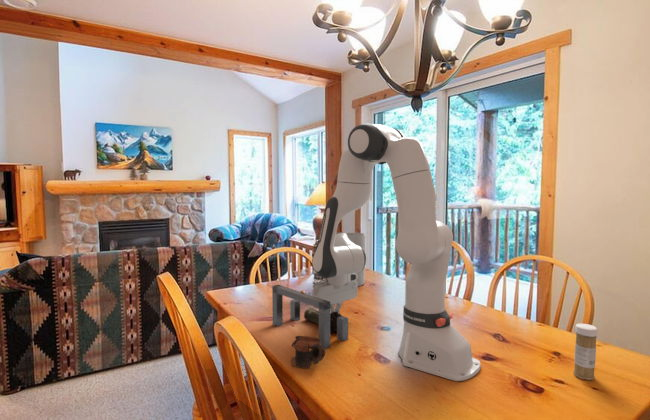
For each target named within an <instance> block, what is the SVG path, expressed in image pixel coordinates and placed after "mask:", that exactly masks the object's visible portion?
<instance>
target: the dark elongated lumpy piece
mask: <svg viewBox="0 0 650 420" xmlns="http://www.w3.org/2000/svg"><path fill="white" fill-rule="evenodd" d="M341 316H343V315H342V314H341V313H340V314H338V312H333V313H331V312H330V333H335V332H337V318H338V317H341ZM303 318H304V320H305V321H309V322H312V323H315V324H318V325H319V309H316V308H314V307H308V308H307V309H306V310H305V311H304V313H303Z"/></svg>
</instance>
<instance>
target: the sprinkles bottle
mask: <svg viewBox="0 0 650 420" xmlns="http://www.w3.org/2000/svg"><path fill="white" fill-rule="evenodd" d="M597 337H598V328H597V326H594V325H592V324H588V323H576V324H575V345H574V359H573V360H574V369H573V370H574V371H573V375H574V376H575V377H577V378H578V379H581V380H584V379H586V380H585V381H593V380H595V370H596V369H595V368H596V356H597V353H596V352H597Z"/></svg>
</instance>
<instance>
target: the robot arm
mask: <svg viewBox="0 0 650 420" xmlns="http://www.w3.org/2000/svg"><path fill="white" fill-rule="evenodd" d="M347 138H348V139H347V147H348V148H347V149H345V150H344V151H343V152H342V154H341V156H340V160H339V164H338V172H337V180H336V181H337V182H336V188H335V190H334V193H333V194H332V197H330V198H329V199H328V200H327V202H326V204H325V208H324V211H323V214H322V221H321V223H320V224H321V225H320V230H319V234H318V238H317V239H318V240H317V241H318V243H317V247H316V250H315V252H314V251H313V254H314V255H313V256H312V259H311V262H312V263H311V265H312V270H313V269H314V271H315V272H316V273H317V274H318V275H319V276H321V277H322V278H323V280H322V281H318V282H316V284H317V285H316V284H315V285H314V287H313V286H312V288H313V289H312V294H311V296H314V297H317V298H320V299H323V300H326V301H329V302H330V313H333V312H338V314H341V313H340V311H341V308H342V307H343V302H346V301H349V300H353V299H356V298H357V296H358V290H359V289H358V288H359V286H358V284H357V281H356V280H357V278H358V275H357V274H355V273H357V272H360V271H362V270H363V269H364V267H365V268H366V263H367V255H366V254H367V253H366V251H365V252H364V250H363V249H362V248H361V247H360V246H359V245H356V244H354V243H353V242H351V241H350V240H349V239H348V237H347V234H345V233H346V232H338V228H339V223H341V221H342V220H343V218H344V217H346V216H348V215H349V214H351V213H353V212H355V211H358V210H360V209H361V208H363V207H364V206H365V205H366V204H367V203H368V201H369V199H370V197H371V191H372V174H373V169H374V168H375V166H376V165H377V164H378V165H385V164H387V166H388V167H389V172H390V177H391V180H392V185H393V191H394V196H395V199H396V205H397V218H398V220H397V224H398V225H397V227H398V228H397V229H398V230H397V231H398V232H397V233H398V234H397V237H396V240H395V249H396V252H397V254H398V256H399V257H400V258H401V259H402V260H403V261H404V262H406V263H408V264H410V266H409V269H408V272H407V275H406V276H405V277H406V278H405V293H404V297H405V299H404V300H405V301H404V303H405V304H404V305H403V313H402V315H403V316H402V318H403V323H404V324H403V333H402V338H401V342H400V344H399V345H400V346H399V348H398V352H397V353H398V355H399V357H400V358H401V360H402V361H401V362H402V365H403V366H404V367H409V368H412V369H415V370H418V371H421V372H425V373H428V374H431V375H435V376H438V377H439V378H440V377H441V378H444V379H448V380H450V381H454V382H460V381H461V382H463V381H467V380H469V379H471V378H473V377H475V376H476V375H477V374H478V373H480V370H481V368H482V366H481V361H480V360H479V359H476V358H475V357H473V352H472V347H471V344H470V342H469V341H468V340H467V339H466V338H465V337H464V336H463V335H462V334H461V333H460V332H459V331H458V330H457V329H456V328H455V327H454V326H453V325H452V323H451V319H453V318H454V313H451V314H449V313H448V312H447V309H446V308H445V307H446V284H447V283H446V282H447V276H448V275H447V274H448V270H449V265H450V257H451V251H452V250H451V249H452V244H453V240H454V234H453V232H452V230H451V228H450V227H449V226H448V225H447V224H445V223H444V222H441V221H439V220H437V214H436V210H437V209H436V206H437V205H436V203H437V193H436V189H435V185H434V181H433V177H432V172H431V168H430V165H429V160H428V159H427V158H428V157H427V155H426V153H425V150H424V148H423V146H422V143H421V142H420V141H419V139H418V138H415V137H410V136H405V134H404V133H402V131H400V130H398V129H396V128H394V127H389V126H386V125H383V124H376V123H362V124H358V125H356V126H354V127H353V128H352V130H350V132H349V135H348V137H347ZM312 308H313V309H316V310H319V308H317V307H314V306H312Z"/></svg>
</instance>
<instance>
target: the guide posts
mask: <svg viewBox="0 0 650 420" xmlns="http://www.w3.org/2000/svg"><path fill="white" fill-rule="evenodd" d="M289 301H290V302H289V303H290V305H289V306H290V307H289V308H290V310H289V311H290V313H289V314H290V318H289V319H290V320H291V321H294V322H296V321H298V320H301V302H300V301H298V300H295V299H291V300H289ZM336 340H339V341H340V342H345V341H347V340H349V317H346V316H344V315H342V316H341V317H338V318H337V331H336Z"/></svg>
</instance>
